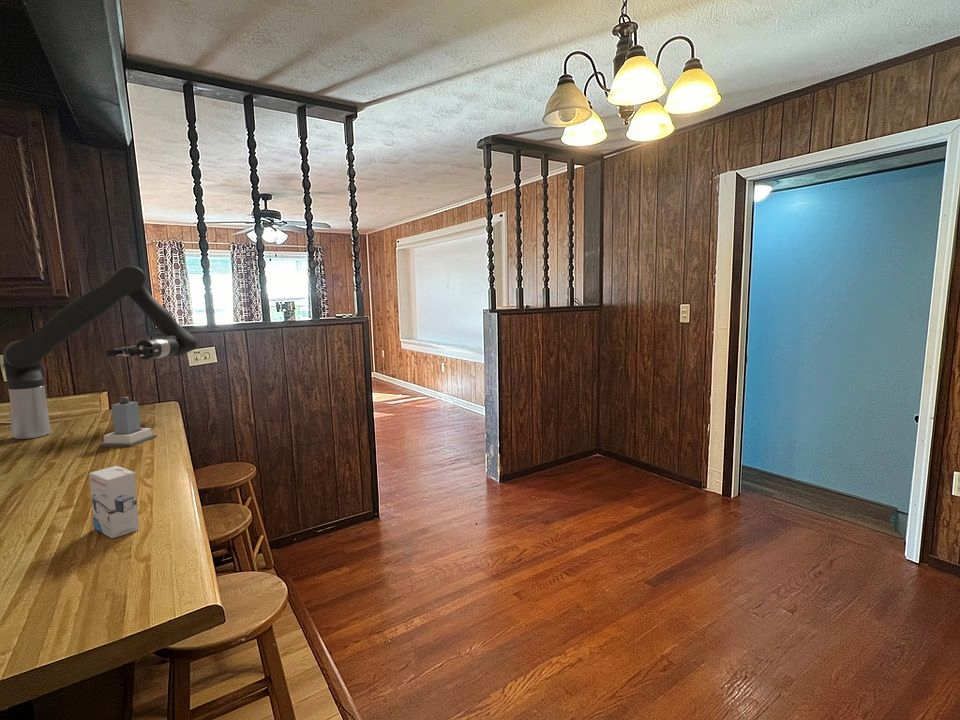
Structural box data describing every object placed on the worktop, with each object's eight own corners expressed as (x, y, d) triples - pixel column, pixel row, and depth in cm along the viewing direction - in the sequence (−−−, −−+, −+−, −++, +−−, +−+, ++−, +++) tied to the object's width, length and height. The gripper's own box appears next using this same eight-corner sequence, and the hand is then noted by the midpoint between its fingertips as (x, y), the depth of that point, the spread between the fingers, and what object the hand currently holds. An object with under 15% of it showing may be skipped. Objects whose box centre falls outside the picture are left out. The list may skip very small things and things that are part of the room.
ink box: (93, 529, 98) (86, 472, 96) (122, 519, 102) (116, 465, 100) (112, 539, 93) (105, 480, 92) (142, 529, 97) (135, 472, 96)
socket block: (99, 446, 156) (97, 436, 156) (126, 436, 167) (125, 427, 167) (131, 446, 155) (130, 436, 155) (156, 436, 166) (155, 427, 166)
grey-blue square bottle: (115, 441, 159) (110, 398, 157) (127, 436, 164) (123, 395, 162) (129, 441, 158) (124, 398, 157) (141, 437, 163) (137, 395, 162)
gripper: (135, 339, 187) (98, 342, 171) (170, 338, 186) (136, 342, 170) (137, 358, 188) (101, 364, 172) (171, 358, 187) (138, 363, 171)
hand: (118, 353), depth 171 cm, fingers open, 8 cm apart
